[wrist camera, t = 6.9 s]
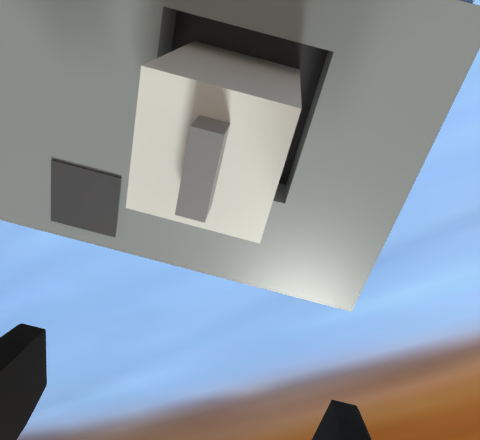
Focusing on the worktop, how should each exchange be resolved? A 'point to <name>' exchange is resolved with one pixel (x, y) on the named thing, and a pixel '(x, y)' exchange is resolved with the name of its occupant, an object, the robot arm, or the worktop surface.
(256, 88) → the charger
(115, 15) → the plate
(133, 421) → the worktop surface
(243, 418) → the worktop surface
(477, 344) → the worktop surface
